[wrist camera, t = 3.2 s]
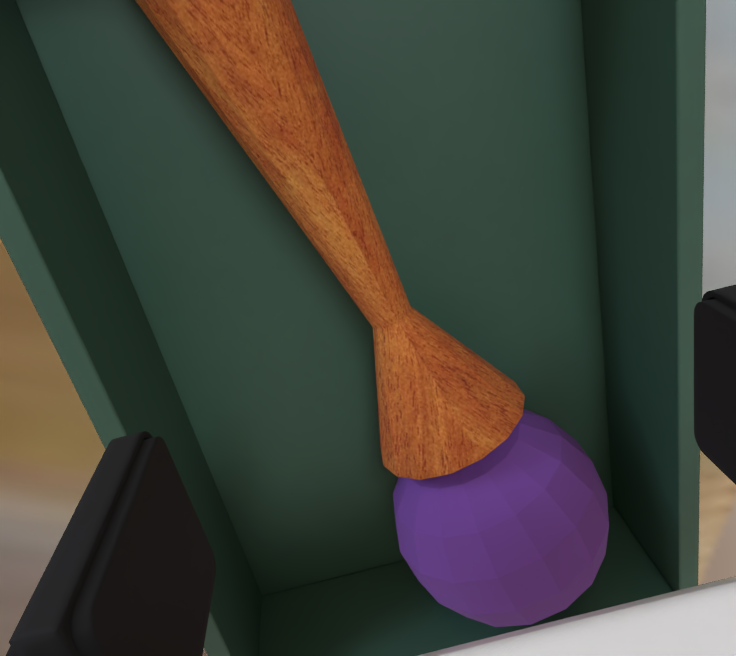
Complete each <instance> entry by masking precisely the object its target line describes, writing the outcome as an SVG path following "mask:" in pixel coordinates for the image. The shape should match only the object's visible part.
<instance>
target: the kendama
mask: <svg viewBox="0 0 736 656" xmlns="http://www.w3.org/2000/svg"><path fill="white" fill-rule="evenodd" d="M135 1H136V2H137V3H138V5H139V6H140V7H141V9H142V10H143V12H144V13H145V14H146V16H147V17H148V19H149V20H150V21H151V23H152V24H153V25H154V27H155V28H156V30H157V31H158V32H159V34H160V35H161V36H162V38H163V39H164V41H165V42H166V43H167V45H168V46H169V47H170V49H171V50H172V52H173V53H174V54H175V56H176V57H177V58H178V60H179V61H180V63H181V64H182V65H183V67H184V68H185V69H186V71H187V72H188V74H189V75H190V76H191V78H192V79H193V80H194V82H195V83H196V85H197V86H198V87H199V89H200V90H201V91H202V93H203V94H204V96H205V97H206V98H207V100H208V101H209V102H210V104H211V105H212V107H213V108H214V109H215V111H216V112H217V113H218V115H219V116H220V118H221V119H222V120H223V122H224V123H225V124H226V126H227V127H228V129H229V130H230V131H231V133H232V134H233V135H234V137H235V138H236V140H237V141H238V142H239V144H240V145H241V147H242V148H243V149H244V151H245V152H246V153H247V155H248V156H249V158H250V159H251V160H252V162H253V163H254V164H255V166H256V167H257V169H258V170H259V171H260V173H261V174H262V175H263V177H264V178H265V180H266V181H267V182H268V184H269V185H270V186H271V188H272V189H273V191H274V192H275V193H276V195H277V196H278V197H279V199H280V200H281V202H282V203H283V204H284V206H285V207H286V208H287V210H288V211H289V213H290V214H291V215H292V217H293V218H294V219H295V221H296V222H297V224H298V225H299V226H300V228H301V229H302V230H303V232H304V233H305V235H306V236H307V237H308V239H309V240H310V241H311V243H312V244H313V246H314V247H315V248H316V250H317V251H318V252H319V254H320V255H321V257H322V258H323V259H324V261H325V262H326V264H327V265H328V266H329V268H330V269H331V270H332V272H333V273H334V275H335V276H336V277H337V279H338V280H339V281H340V283H341V284H342V286H343V287H344V288H345V290H346V291H347V292H348V294H349V295H350V297H351V298H352V299H353V301H354V302H355V303H356V305H357V306H358V308H359V309H360V310H361V312H362V313H363V314H364V316H365V317H366V319H367V320H368V321H369V323H370V324H371V325H372V327H373V339H374V355H375V370H376V386H377V402H378V417H379V433H380V448H381V455H382V461H383V466H385V467H386V468H387V469H388V470H390V471H391V472H392V473H393V474H394V475H396V476H397V477H398V480H397V483H396V486H395V489H394V492H393V501H394V512H395V522H396V530H397V536H398V541H399V547H400V553H401V554H402V556H403V557H404V559H405V560H406V562H407V564H408V565H409V567H410V568H411V570H412V571H413V573H414V574H415V576H416V578H417V579H418V581H419V582H420V583H421V584H422V585H423V586H424V587H425V588H426V590H427V591H428V592H429V593H430V594H431V595H432V596H433V597H434V598H435V599H436V600H437V602H438V603H439V604H441V605H443V606H445V607H447V608H449V609H451V610H453V611H455V612H457V613H459V614H461V615H463V616H465V617H467V618H470V619H473V620H476V621H479V622H482V623H485V624H488V625H491V626H494V627H505V626H519V625H531V624H534V623H536V622H538V621H540V620H543V619H545V618H547V617H549V616H552V615H554V614H556V613H558V612H561V611H563V610H565V609H567V608H568V607H569V606H570V605H571V604H572V603H573V602H574V601H575V600H576V599H577V598H578V597H579V596H580V595H581V594H582V593H583V592H584V591H585V590H586V589H587V588H589V587H590V586H591V585H592V584H593V581H594V579H595V577H596V575H597V572H598V570H599V568H600V566H601V563H602V561H603V559H604V557H605V554H606V546H607V538H608V530H609V517H608V502H607V493H606V491H605V488H604V486H603V484H602V482H601V480H600V477H599V475H598V473H597V471H596V469H595V467H594V464H593V462H592V461H591V459H590V458H589V457H588V455H587V454H586V453H585V451H584V450H583V449H582V447H581V446H580V445H579V443H578V442H577V441H576V439H574V438H573V437H572V436H570V435H569V434H568V433H567V432H565V431H564V430H563V429H561V428H560V427H559V426H558V425H556V424H555V423H554V422H552V421H551V420H550V419H548V418H546V417H543V416H541V415H539V414H536V413H534V412H531V411H529V410H527V409H523V408H524V399H525V395H524V394H523V393H522V391H521V390H520V388H519V387H518V385H517V384H516V382H514V381H513V380H512V379H510V378H509V377H507V376H506V375H505V374H503V373H502V372H501V371H499V370H498V369H496V368H495V367H494V366H492V365H491V364H490V363H488V362H487V361H486V360H484V359H483V358H481V357H480V356H479V355H477V354H476V353H475V352H473V351H472V350H470V349H469V348H468V347H466V346H465V345H464V344H462V343H461V342H459V341H458V340H457V339H455V338H454V337H453V336H451V335H450V334H449V333H447V332H446V331H444V330H443V329H442V328H440V327H439V326H438V325H436V324H435V323H433V322H432V321H431V320H429V319H428V318H427V317H425V316H424V315H422V314H421V313H420V312H418V311H417V310H416V309H414V308H413V307H411V306H410V304H409V301H408V299H407V296H406V293H405V291H404V288H403V286H402V283H401V281H400V278H399V276H398V273H397V271H396V268H395V265H394V263H393V260H392V258H391V255H390V253H389V250H388V248H387V245H386V242H385V240H384V237H383V235H382V232H381V230H380V227H379V225H378V222H377V219H376V217H375V214H374V212H373V209H372V207H371V204H370V202H369V199H368V196H367V194H366V191H365V189H364V186H363V184H362V181H361V179H360V176H359V173H358V171H357V168H356V166H355V163H354V161H353V158H352V156H351V153H350V150H349V148H348V145H347V143H346V140H345V138H344V135H343V133H342V130H341V127H340V125H339V122H338V120H337V117H336V115H335V112H334V110H333V107H332V104H331V102H330V99H329V97H328V94H327V92H326V89H325V87H324V84H323V81H322V79H321V76H320V74H319V71H318V69H317V66H316V64H315V61H314V58H313V56H312V53H311V51H310V48H309V46H308V43H307V41H306V38H305V35H304V33H303V30H302V28H301V25H300V23H299V20H298V18H297V15H296V12H295V10H294V7H293V5H292V2H291V0H135Z"/></svg>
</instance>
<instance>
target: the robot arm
mask: <svg viewBox="0 0 736 656" xmlns="http://www.w3.org/2000/svg"><path fill="white" fill-rule="evenodd" d="M694 436H695V439H696V442H697V444H698V446H699V448H700V450H701V451H702V452H703V453H704V454H705V455H706V456H707V457H708V458H709V459H710V460H711V461H712V462H713V463H714V464H715V465H716V466H717V467H718V468H719V469H720V470H721V471H722V472H723V473H724V474H725V475H726V476H727V477H728V478H729V479H731V480H732V481H733V482H734V483H735V484H736V285H732V286H728V287H724V288H720V289H716V290H712V291H708V292H706V293H705V294H704V296H703V298H702V302H698V303H697V304H696V306H695V308H694ZM215 576H216V564H215V558H214V554H213V551H212V549H211V546H210V544H209V542H208V540H207V537H206V535H205V533H204V530H203V528H202V526H201V523H200V521H199V519H198V517H197V514H196V512H195V510H194V507H193V505H192V503H191V501H190V498H189V496H188V494H187V491H186V489H185V487H184V484H183V482H182V480H181V478H180V475H179V473H178V471H177V468H176V466H175V464H174V462H173V459H172V457H171V455H170V452H169V450H168V448H167V445H166V443H165V441H164V440H163V439H162V437H160V436H158V437H154V438H153V437H152V435H151V434H150V433H149V432H147V431H144V432H139V433H135V434H131V435H127V436H123V437H119V438H115V439H112V440H111V441H110V443H109V444H108V446H107V448H106V450H105V452H104V454H103V456H102V458H101V460H100V462H99V464H98V466H97V468H96V470H95V472H94V474H93V476H92V478H91V480H90V482H89V484H88V486H87V488H86V490H85V492H84V494H83V496H82V498H81V500H80V502H79V504H78V506H77V508H76V510H75V512H74V514H73V516H72V518H71V520H70V522H69V524H68V526H67V528H66V530H65V532H64V534H63V536H62V538H61V540H60V542H59V544H58V546H57V548H56V550H55V552H54V554H53V556H52V558H51V560H50V562H49V564H48V566H47V568H46V570H45V572H44V574H43V576H42V577H41V579H40V581H39V583H38V585H37V587H36V589H35V591H34V593H33V595H32V597H31V599H30V601H29V603H28V605H27V607H26V609H25V611H24V613H23V615H22V617H21V619H20V621H19V623H18V625H17V627H16V629H15V631H14V633H13V635H12V637H11V639H10V641H9V643H10V645H11V646H10V648H9V650H8V652H7V654H6V656H202V654H203V648H204V642H205V636H206V630H207V624H208V618H209V612H210V606H211V600H212V594H213V588H214V582H215ZM418 656H736V576H735V577H731V578H727V579H722V580H718V581H714V582H710V583H706V584H702V585H698V586H694V587H690V588H685V589H681V590H677V591H673V592H669V593H665V594H661V595H657V596H653V597H649V598H645V599H641V600H637V601H633V602H629V603H625V604H621V605H617V606H613V607H609V608H605V609H601V610H597V611H593V612H589V613H585V614H581V615H577V616H573V617H569V618H565V619H561V620H557V621H553V622H549V623H545V624H541V625H537V626H533V627H529V628H525V629H521V630H517V631H513V632H509V633H505V634H501V635H497V636H493V637H489V638H485V639H481V640H477V641H473V642H469V643H465V644H461V645H457V646H453V647H449V648H445V649H441V650H437V651H433V652H430V653H426V654H422V655H418Z"/></svg>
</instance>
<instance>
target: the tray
mask: <svg viewBox="0 0 736 656" xmlns="http://www.w3.org/2000/svg"><path fill="white" fill-rule="evenodd" d="M291 2H292V5H293V7H294V10H295V12H296V15H297V18H298V20H299V23H300V25H301V28H302V30H303V33H304V35H305V38H306V41H307V43H308V46H309V48H310V51H311V53H312V56H313V58H314V61H315V64H316V66H317V69H318V71H319V74H320V76H321V79H322V81H323V84H324V87H325V89H326V92H327V94H328V97H329V99H330V102H331V104H332V107H333V110H334V112H335V115H336V117H337V120H338V122H339V125H340V127H341V130H342V133H343V135H344V138H345V140H346V143H347V145H348V148H349V150H350V153H351V156H352V158H353V161H354V163H355V166H356V168H357V171H358V173H359V176H360V179H361V181H362V184H363V186H364V189H365V191H366V194H367V196H368V199H369V202H370V204H371V207H372V209H373V212H374V214H375V217H376V219H377V222H378V225H379V227H380V230H381V232H382V235H383V237H384V240H385V242H386V245H387V248H388V250H389V253H390V255H391V258H392V260H393V263H394V265H395V268H396V271H397V273H398V276H399V278H400V281H401V283H402V286H403V288H404V291H405V293H406V296H407V299H408V301H409V304H410V306H411V307H413V308H414V309H416V310H417V311H418V312H420V313H421V314H422V315H424V316H425V317H427V318H428V319H429V320H431V321H432V322H433V323H435V324H436V325H438V326H439V327H440V328H442V329H443V330H444V331H446V332H447V333H449V334H450V335H451V336H453V337H454V338H455V339H457V340H458V341H459V342H461V343H462V344H464V345H465V346H466V347H468V348H469V349H470V350H472V351H473V352H475V353H476V354H477V355H479V356H480V357H481V358H483V359H484V360H486V361H487V362H488V363H490V364H491V365H492V366H494V367H495V368H496V369H498V370H499V371H501V372H502V373H503V374H505V375H506V376H507V377H509V378H510V379H512V380H513V381H514V382H516V384H517V385H518V387H519V388H520V390H521V391H522V393H523V394H524V395H525V399H524V408H523V409H527V410H529V411H531V412H534V413H536V414H539V415H541V416H543V417H546V418H548V419H550V420H551V421H552V422H554V423H555V424H556V425H558V426H559V427H560V428H561V429H563V430H564V431H565V432H567V433H568V434H569V435H570V436H572V437H573V438H574V439H576V441H577V442H578V443H579V445H580V446H581V447H582V449H583V450H584V451H585V453H586V454H587V455H588V457H589V458H590V459H591V461H592V462H593V464H594V467H595V469H596V471H597V473H598V475H599V477H600V480H601V482H602V484H603V486H604V488H605V491H606V493H607V502H608V517H609V530H608V538H607V546H606V554H605V557H604V559H603V561H602V563H601V566H600V568H599V570H598V572H597V575H596V577H595V579H594V581H593V584H592V585H591V586H590V587H589V588H587V589H586V590H585V591H584V592H583V593H582V594H581V595H580V596H579V597H578V598H577V599H576V600H575V601H574V602H573V603H572V604H571V605H570V606H569V607H568V608H567V609H565V610H563V611H561V612H558V613H556V614H554V615H552V616H549V617H547V618H545V619H543V620H540V621H538V622H536V623H534V624H531V625H519V626H505V627H494V626H491V625H488V624H485V623H482V622H479V621H476V620H473V619H470V618H467V617H465V616H463V615H461V614H459V613H457V612H455V611H453V610H451V609H449V608H447V607H445V606H443V605H441V604H439V603H438V602H437V600H436V599H435V598H434V597H433V596H432V595H431V594H430V593H429V592H428V591H427V590H426V588H425V587H424V586H423V585H422V584H421V583H420V582H419V581H418V579H417V578H416V576H415V574H414V573H413V571H412V570H411V568H410V567H409V565H408V564H407V562H406V560H405V559H404V557H403V556H402V554H401V553H400V547H399V541H398V536H397V530H396V522H395V512H394V501H393V492H394V489H395V486H396V483H397V480H398V477H397V476H396V475H394V474H393V473H392V472H391V471H390V470H388V469H387V468H386V467H385V466H383V461H382V455H381V448H380V433H379V417H378V402H377V386H376V370H375V355H374V339H373V327H372V325H371V324H370V323H369V321H368V320H367V319H366V317H365V316H364V314H363V313H362V312H361V310H360V309H359V308H358V306H357V305H356V303H355V302H354V301H353V299H352V298H351V297H350V295H349V294H348V292H347V291H346V290H345V288H344V287H343V286H342V284H341V283H340V281H339V280H338V279H337V277H336V276H335V275H334V273H333V272H332V270H331V269H330V268H329V266H328V265H327V264H326V262H325V261H324V259H323V258H322V257H321V255H320V254H319V252H318V251H317V250H316V248H315V247H314V246H313V244H312V243H311V241H310V240H309V239H308V237H307V236H306V235H305V233H304V232H303V230H302V229H301V228H300V226H299V225H298V224H297V222H296V221H295V219H294V218H293V217H292V215H291V214H290V213H289V211H288V210H287V208H286V207H285V206H284V204H283V203H282V202H281V200H280V199H279V197H278V196H277V195H276V193H275V192H274V191H273V189H272V188H271V186H270V185H269V184H268V182H267V181H266V180H265V178H264V177H263V175H262V174H261V173H260V171H259V170H258V169H257V167H256V166H255V164H254V163H253V162H252V160H251V159H250V158H249V156H248V155H247V153H246V152H245V151H244V149H243V148H242V147H241V145H240V144H239V142H238V141H237V140H236V138H235V137H234V135H233V134H232V133H231V131H230V130H229V129H228V127H227V126H226V124H225V123H224V122H223V120H222V119H221V118H220V116H219V115H218V113H217V112H216V111H215V109H214V108H213V107H212V105H211V104H210V102H209V101H208V100H207V98H206V97H205V96H204V94H203V93H202V91H201V90H200V89H199V87H198V86H197V85H196V83H195V82H194V80H193V79H192V78H191V76H190V75H189V74H188V72H187V71H186V69H185V68H184V67H183V65H182V64H181V63H180V61H179V60H178V58H177V57H176V56H175V54H174V53H173V52H172V50H171V49H170V47H169V46H168V45H167V43H166V42H165V41H164V39H163V38H162V36H161V35H160V34H159V32H158V31H157V30H156V28H155V27H154V25H153V24H152V23H151V21H150V20H149V19H148V17H147V16H146V14H145V13H144V12H143V10H142V9H141V7H140V6H139V5H138V3H137V2H136V1H135V0H0V238H1V240H2V242H3V244H4V246H5V248H6V250H7V252H8V254H9V256H10V258H11V260H12V262H13V264H14V266H15V268H16V270H17V272H18V274H19V276H20V278H21V280H22V282H23V284H24V286H25V288H26V290H27V292H28V294H29V296H30V298H31V300H32V302H33V304H34V306H35V308H36V310H37V312H38V314H39V316H40V318H41V320H42V322H43V324H44V326H45V328H46V330H47V332H48V334H49V336H50V338H51V340H52V342H53V344H54V346H55V348H56V350H57V352H58V355H59V357H60V359H61V361H62V363H63V365H64V367H65V369H66V371H67V373H68V375H69V377H70V379H71V381H72V383H73V385H74V387H75V389H76V391H77V393H78V395H79V397H80V399H81V401H82V403H83V405H84V407H85V409H86V411H87V413H88V415H89V417H90V419H91V421H92V423H93V425H94V427H95V429H96V431H97V433H98V435H99V437H100V439H101V441H102V443H103V445H104V447H105V449H106V448H107V446H108V444H109V443H110V441H111V440H112V439H115V438H119V437H123V436H127V435H131V434H135V433H139V432H144V431H147V432H149V433H150V434H151V435H152V437H153V438H154V437H158V436H160V437H162V439H163V440H164V441H165V443H166V445H167V448H168V450H169V452H170V455H171V457H172V459H173V462H174V464H175V466H176V468H177V471H178V473H179V475H180V478H181V480H182V482H183V484H184V487H185V489H186V491H187V494H188V496H189V498H190V501H191V503H192V505H193V507H194V510H195V512H196V514H197V517H198V519H199V521H200V523H201V526H202V528H203V530H204V533H205V535H206V537H207V540H208V542H209V544H210V546H211V549H212V551H213V554H214V558H215V564H216V576H215V582H214V588H213V594H212V600H211V606H210V612H209V618H208V624H207V630H206V636H205V642H204V648H205V650H206V652H207V655H208V656H418V655H422V654H426V653H430V652H433V651H437V650H441V649H445V648H449V647H453V646H457V645H461V644H465V643H469V642H473V641H477V640H481V639H485V638H489V637H493V636H497V635H501V634H505V633H509V632H513V631H517V630H521V629H525V628H529V627H533V626H537V625H541V624H545V623H549V622H553V621H557V620H561V619H565V618H569V617H573V616H577V615H581V614H585V613H589V612H593V611H597V610H601V609H605V608H609V607H613V606H617V605H621V604H625V603H629V602H633V601H637V600H641V599H645V598H649V597H653V596H657V595H661V594H665V593H669V592H673V591H677V590H681V589H685V588H690V587H694V586H698V549H699V476H700V448H699V446H698V444H697V442H696V439H695V436H694V308H695V306H696V304H697V303H698V302H702V258H703V185H704V113H705V40H706V0H291Z"/></svg>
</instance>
